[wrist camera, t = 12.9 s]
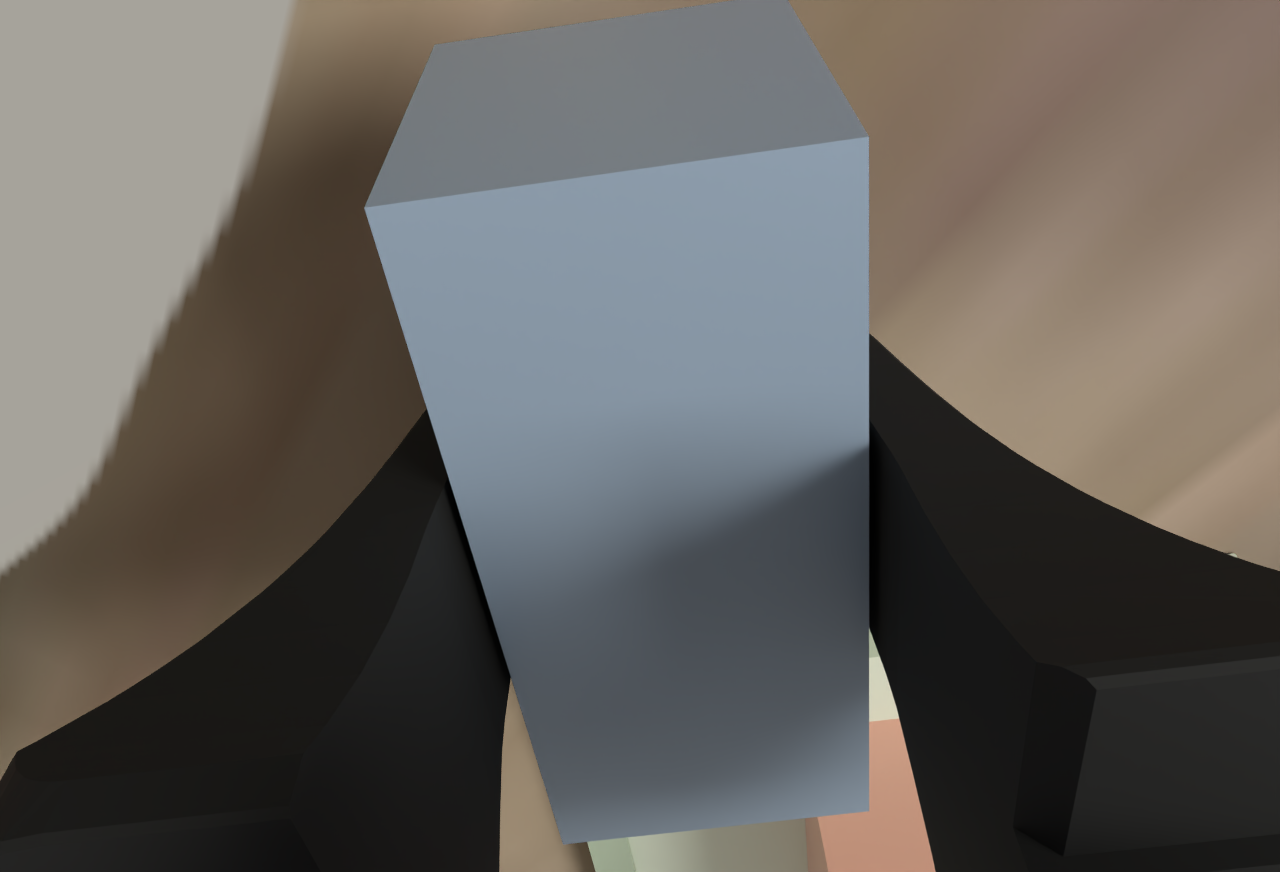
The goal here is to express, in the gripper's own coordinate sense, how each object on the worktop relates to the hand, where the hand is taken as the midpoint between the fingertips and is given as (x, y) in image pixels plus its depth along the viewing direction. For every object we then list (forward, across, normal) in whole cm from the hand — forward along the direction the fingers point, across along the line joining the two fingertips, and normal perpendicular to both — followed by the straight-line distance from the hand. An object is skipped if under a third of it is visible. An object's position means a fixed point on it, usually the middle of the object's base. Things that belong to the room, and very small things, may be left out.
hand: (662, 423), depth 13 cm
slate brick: (+2, 0, 0) cm, 2 cm away
